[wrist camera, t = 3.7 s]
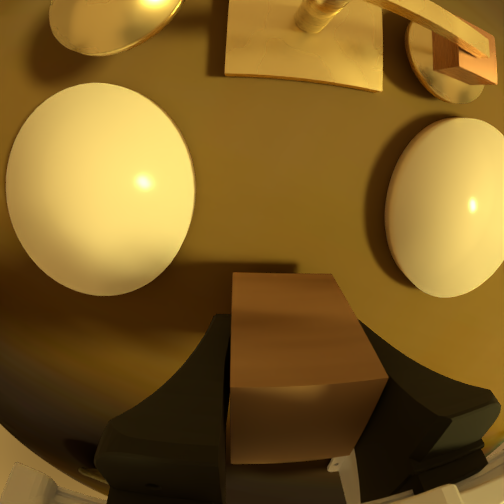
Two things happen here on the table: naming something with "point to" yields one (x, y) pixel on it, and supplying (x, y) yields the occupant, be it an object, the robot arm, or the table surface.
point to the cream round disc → (100, 188)
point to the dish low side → (448, 206)
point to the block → (297, 370)
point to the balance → (302, 40)
